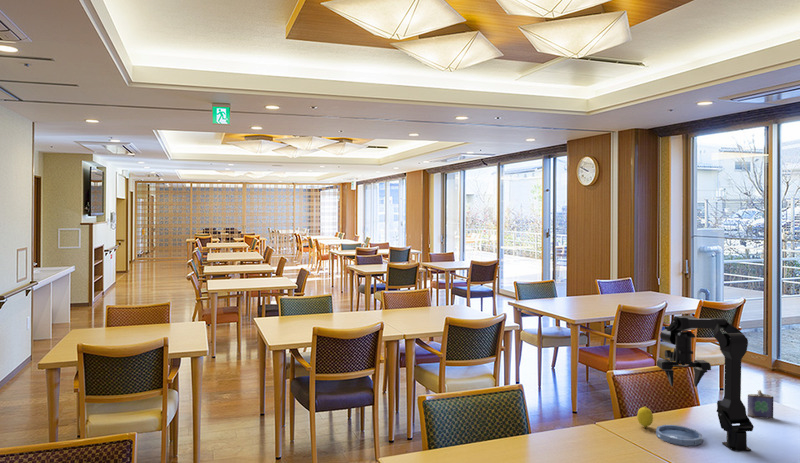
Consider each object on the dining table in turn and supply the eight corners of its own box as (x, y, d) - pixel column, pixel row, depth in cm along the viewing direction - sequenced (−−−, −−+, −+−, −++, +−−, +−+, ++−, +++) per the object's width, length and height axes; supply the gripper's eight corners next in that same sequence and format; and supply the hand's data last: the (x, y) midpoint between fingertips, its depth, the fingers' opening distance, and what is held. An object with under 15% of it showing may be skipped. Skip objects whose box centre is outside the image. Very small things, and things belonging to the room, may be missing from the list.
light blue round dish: (710, 446, 185) (710, 440, 185) (667, 445, 186) (667, 439, 186) (689, 430, 200) (689, 425, 200) (649, 429, 201) (649, 424, 201)
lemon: (649, 424, 206) (649, 404, 206) (655, 430, 200) (655, 409, 200) (635, 424, 206) (635, 404, 206) (640, 429, 201) (640, 408, 201)
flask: (748, 417, 215) (748, 390, 215) (745, 414, 218) (746, 388, 218) (774, 419, 213) (774, 392, 213) (771, 416, 216) (771, 390, 216)
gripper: (697, 343, 218) (697, 381, 218) (651, 342, 219) (651, 380, 219) (711, 349, 207) (711, 389, 207) (662, 348, 208) (662, 388, 208)
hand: (683, 386), depth 210 cm, fingers open, 9 cm apart
